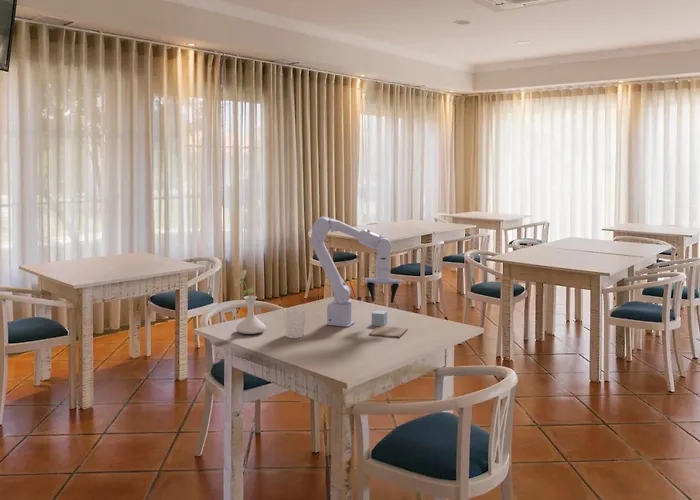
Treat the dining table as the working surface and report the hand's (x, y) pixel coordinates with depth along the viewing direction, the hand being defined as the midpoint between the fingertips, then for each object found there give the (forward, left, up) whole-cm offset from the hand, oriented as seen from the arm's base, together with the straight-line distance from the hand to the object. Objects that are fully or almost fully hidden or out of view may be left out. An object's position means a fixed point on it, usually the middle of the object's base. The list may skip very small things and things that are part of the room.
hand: (382, 301), depth 252 cm
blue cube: (-2, +1, -10) cm, 10 cm away
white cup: (-27, -26, -10) cm, 39 cm away
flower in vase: (-44, -28, -10) cm, 54 cm away
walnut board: (+5, -10, -9) cm, 15 cm away
